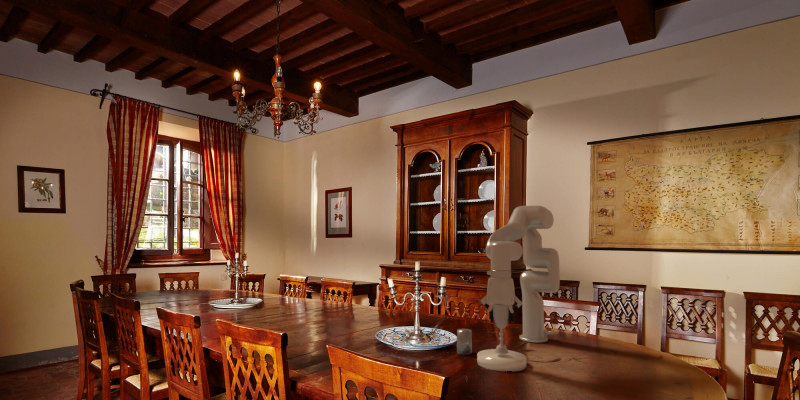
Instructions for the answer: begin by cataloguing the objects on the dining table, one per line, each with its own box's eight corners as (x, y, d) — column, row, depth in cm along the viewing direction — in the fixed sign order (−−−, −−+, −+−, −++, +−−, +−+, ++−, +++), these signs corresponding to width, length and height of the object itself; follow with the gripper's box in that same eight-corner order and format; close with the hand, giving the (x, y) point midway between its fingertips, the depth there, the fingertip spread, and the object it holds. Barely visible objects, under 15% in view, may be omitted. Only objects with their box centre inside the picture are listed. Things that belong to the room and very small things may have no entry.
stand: (511, 355, 170) (511, 348, 170) (536, 369, 153) (535, 361, 153) (469, 358, 166) (469, 350, 166) (490, 373, 149) (489, 364, 149)
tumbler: (468, 350, 178) (468, 328, 178) (474, 354, 172) (474, 331, 173) (454, 351, 176) (454, 329, 177) (460, 355, 170) (460, 332, 171)
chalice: (510, 349, 163) (509, 302, 164) (513, 354, 156) (512, 305, 158) (490, 349, 164) (490, 301, 165) (492, 354, 157) (492, 304, 158)
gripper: (476, 274, 162) (476, 322, 160) (523, 276, 155) (524, 326, 154) (480, 272, 169) (480, 318, 167) (525, 274, 162) (525, 322, 161)
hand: (501, 322), depth 161 cm, fingers closed on chalice, 6 cm apart
